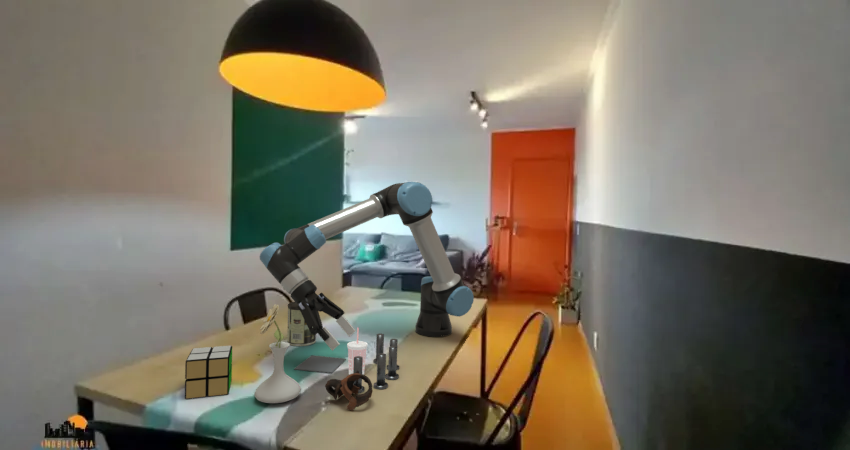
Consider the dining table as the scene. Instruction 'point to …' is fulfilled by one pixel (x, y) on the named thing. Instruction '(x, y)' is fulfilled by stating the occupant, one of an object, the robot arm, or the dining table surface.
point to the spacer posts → (379, 364)
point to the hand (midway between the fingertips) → (344, 340)
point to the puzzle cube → (208, 372)
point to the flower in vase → (277, 369)
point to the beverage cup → (356, 352)
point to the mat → (320, 364)
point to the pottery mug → (349, 390)
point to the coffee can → (298, 328)
